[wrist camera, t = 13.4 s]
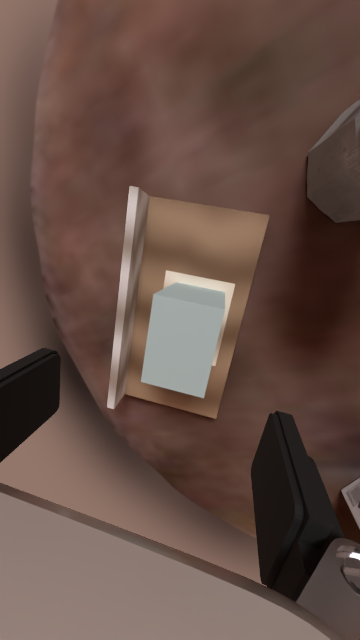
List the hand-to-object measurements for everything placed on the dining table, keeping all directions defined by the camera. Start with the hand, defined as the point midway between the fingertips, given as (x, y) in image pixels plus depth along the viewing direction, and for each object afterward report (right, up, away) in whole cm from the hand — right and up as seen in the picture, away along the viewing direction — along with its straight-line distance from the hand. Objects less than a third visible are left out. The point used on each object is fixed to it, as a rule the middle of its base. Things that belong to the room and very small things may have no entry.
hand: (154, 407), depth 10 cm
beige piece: (+2, +5, +17) cm, 17 cm away
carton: (+3, +4, +15) cm, 15 cm away
